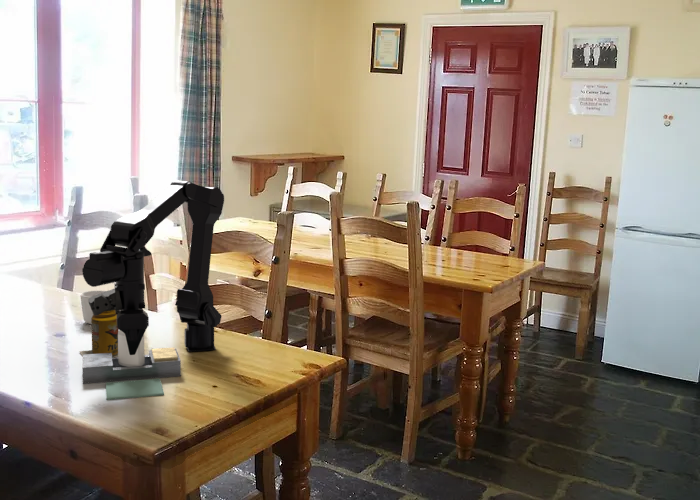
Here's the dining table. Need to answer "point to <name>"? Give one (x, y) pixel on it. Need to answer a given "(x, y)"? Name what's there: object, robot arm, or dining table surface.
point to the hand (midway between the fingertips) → (131, 348)
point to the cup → (87, 304)
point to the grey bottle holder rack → (109, 369)
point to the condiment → (104, 333)
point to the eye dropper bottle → (123, 352)
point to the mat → (134, 389)
